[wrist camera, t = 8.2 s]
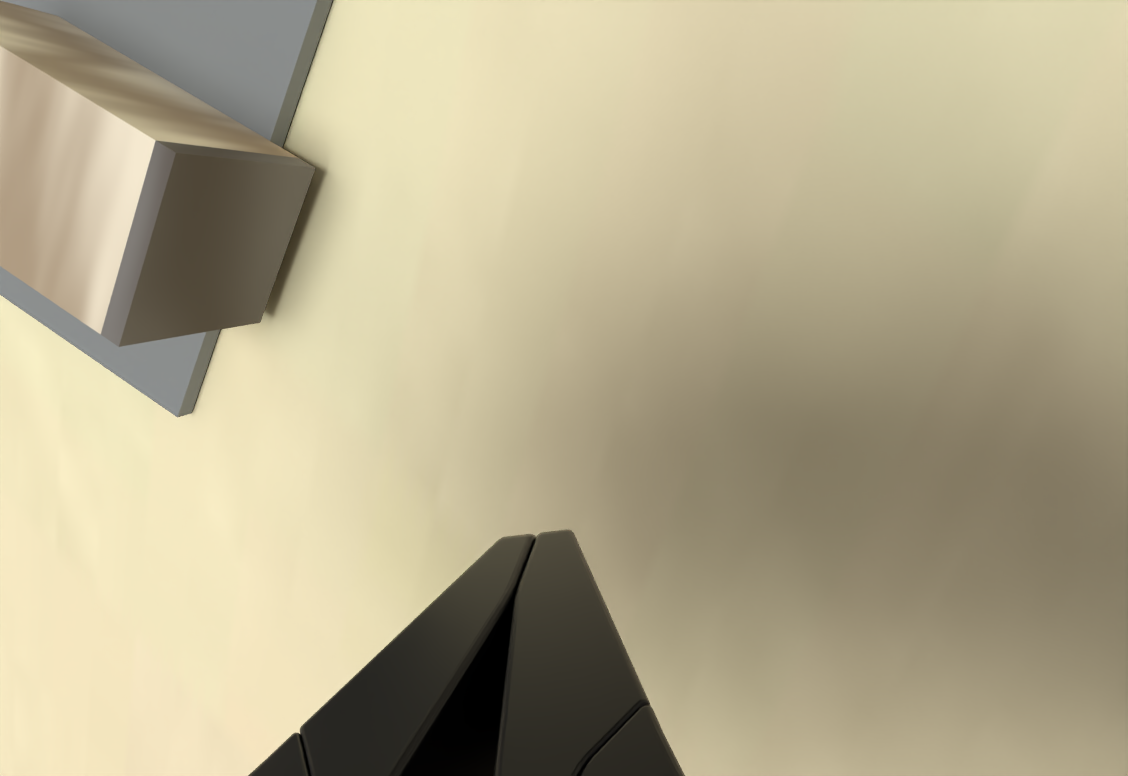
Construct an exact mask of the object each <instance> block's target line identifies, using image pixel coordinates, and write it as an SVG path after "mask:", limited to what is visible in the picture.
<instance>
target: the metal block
mask: <svg viewBox="0 0 1128 776" xmlns="http://www.w3.org/2000/svg"><path fill="white" fill-rule="evenodd" d="M315 169H316V168H315V167H313V166H312V165H310V164H308V163H307V162H305V161H303V160H302V159H300V158H298V157H296V156H295V155H293V154H291V153H290V152H288V151H286V150H285V149H283V148H281V147H279V146H278V145H276V144H274V143H273V142H271V141H269V140H268V139H266V138H264V137H262V136H261V135H259V134H257V133H256V132H254V131H252V130H251V129H249V128H247V127H245V126H244V125H242V124H240V123H239V122H237V121H235V120H234V119H232V118H230V117H228V116H227V115H225V114H223V113H222V112H220V111H218V110H217V109H215V108H213V107H211V106H210V105H208V104H206V103H205V102H203V101H201V100H200V99H198V98H196V97H195V96H193V95H191V94H189V93H188V92H186V91H184V90H183V89H181V88H179V87H178V86H176V85H174V84H172V83H171V82H169V81H167V80H166V79H164V78H162V77H161V76H159V75H157V74H155V73H154V72H152V71H150V70H149V69H147V68H145V67H144V66H142V65H140V64H138V63H137V62H135V61H133V60H132V59H130V58H128V57H127V56H125V55H123V54H121V53H120V52H118V51H116V50H115V49H113V48H111V47H110V46H108V45H106V44H104V43H103V42H101V41H99V40H98V39H96V38H94V37H93V36H91V35H89V34H88V33H86V32H84V31H82V30H81V29H79V28H77V27H76V26H74V25H72V24H71V23H69V22H67V21H65V20H64V19H62V18H60V17H59V16H56V15H53V14H49V13H45V12H41V11H38V10H34V9H30V8H27V7H23V6H19V5H15V4H12V3H8V2H4V1H0V266H1V267H2V268H4V269H5V270H7V271H8V272H10V273H11V274H13V275H14V276H16V277H17V278H18V279H20V280H21V281H23V282H24V283H26V284H27V285H29V286H30V287H32V288H33V289H35V290H36V291H38V292H39V293H40V294H42V295H43V296H45V297H46V298H48V299H49V300H51V301H52V302H54V303H55V304H57V305H58V306H60V307H61V308H62V309H64V310H65V311H67V312H68V313H70V314H71V315H73V316H74V317H76V318H77V319H79V320H80V321H81V322H83V323H84V324H86V325H87V326H89V327H90V328H92V329H93V330H95V331H96V332H98V333H99V334H101V335H102V336H103V337H105V338H106V339H108V340H109V341H111V342H112V343H114V344H115V345H117V346H118V347H121V346H127V345H133V344H139V343H144V342H150V341H156V340H162V339H167V338H173V337H179V336H185V335H191V334H196V333H202V332H208V331H214V330H220V329H225V328H231V327H237V326H243V325H248V324H254V323H260V322H261V319H262V316H263V313H264V310H265V308H266V305H267V302H268V299H269V297H270V294H271V291H272V288H273V285H274V283H275V280H276V277H277V274H278V271H279V269H280V266H281V263H282V260H283V258H284V255H285V252H286V249H287V246H288V244H289V241H290V238H291V235H292V233H293V230H294V227H295V224H296V221H297V219H298V216H299V213H300V210H301V208H302V205H303V202H304V199H305V196H306V194H307V191H308V188H309V185H310V183H311V180H312V177H313V174H314V171H315Z"/></svg>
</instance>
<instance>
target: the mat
mask: <svg viewBox="0 0 1128 776" xmlns="http://www.w3.org/2000/svg"><path fill="white" fill-rule="evenodd" d="M0 1H4V2H8V3H12V4H15V5H19V6H23V7H27V8H30V9H34V10H38V11H41V12H45V13H49V14H53V15H56V16H59V17H60V18H62V19H64V20H65V21H67V22H69V23H71V24H72V25H74V26H76V27H77V28H79V29H81V30H82V31H84V32H86V33H88V34H89V35H91V36H93V37H94V38H96V39H98V40H99V41H101V42H103V43H104V44H106V45H108V46H110V47H111V48H113V49H115V50H116V51H118V52H120V53H121V54H123V55H125V56H127V57H128V58H130V59H132V60H133V61H135V62H137V63H138V64H140V65H142V66H144V67H145V68H147V69H149V70H150V71H152V72H154V73H155V74H157V75H159V76H161V77H162V78H164V79H166V80H167V81H169V82H171V83H172V84H174V85H176V86H178V87H179V88H181V89H183V90H184V91H186V92H188V93H189V94H191V95H193V96H195V97H196V98H198V99H200V100H201V101H203V102H205V103H206V104H208V105H210V106H211V107H213V108H215V109H217V110H218V111H220V112H222V113H223V114H225V115H227V116H228V117H230V118H232V119H234V120H235V121H237V122H239V123H240V124H242V125H244V126H245V127H247V128H249V129H251V130H252V131H254V132H256V133H257V134H259V135H261V136H262V137H264V138H266V139H268V140H269V141H271V142H273V143H274V144H276V145H278V146H279V147H281V148H282V147H283V144H284V141H285V138H286V135H287V132H288V129H289V127H290V124H291V121H292V118H293V115H294V112H295V109H296V106H297V103H298V100H299V97H300V94H301V91H302V88H303V86H304V83H305V80H306V77H307V74H308V71H309V68H310V65H311V62H312V59H313V56H314V53H315V50H316V47H317V45H318V42H319V39H320V36H321V33H322V30H323V27H324V24H325V21H326V18H327V15H328V12H329V9H330V6H331V4H332V1H333V0H0ZM0 295H1V296H3V297H4V298H6V299H7V300H9V301H10V302H11V303H13V304H14V305H16V306H17V307H19V308H20V309H22V310H23V311H24V312H26V313H27V314H29V315H30V316H32V317H33V318H35V319H36V320H38V321H39V322H40V323H42V324H43V325H45V326H46V327H48V328H49V329H51V330H52V331H53V332H55V333H56V334H58V335H59V336H61V337H62V338H64V339H65V340H66V341H68V342H69V343H71V344H72V345H74V346H75V347H77V348H78V349H79V350H81V351H82V352H84V353H85V354H87V355H88V356H90V357H91V358H92V359H94V360H95V361H97V362H98V363H100V364H101V365H103V366H104V367H105V368H107V369H108V370H110V371H111V372H113V373H114V374H116V375H117V376H119V377H120V378H121V379H123V380H124V381H126V382H127V383H129V384H130V385H132V386H133V387H134V388H136V389H137V390H139V391H140V392H142V393H143V394H145V395H146V396H147V397H149V398H150V399H152V400H153V401H155V402H156V403H158V404H159V405H160V406H162V407H163V408H165V409H166V410H168V411H169V412H171V413H172V414H173V415H175V416H176V417H180V416H184V415H187V414H190V413H192V411H193V408H194V405H195V402H196V399H197V396H198V393H199V390H200V387H201V384H202V381H203V378H204V375H205V373H206V370H207V367H208V364H209V361H210V358H211V355H212V352H213V349H214V346H215V343H216V340H217V337H218V334H219V332H220V330H214V331H208V332H202V333H196V334H191V335H185V336H179V337H173V338H167V339H162V340H156V341H150V342H144V343H139V344H133V345H127V346H121V347H118V346H117V345H115V344H114V343H112V342H111V341H109V340H108V339H106V338H105V337H103V336H102V335H101V334H99V333H98V332H96V331H95V330H93V329H92V328H90V327H89V326H87V325H86V324H84V323H83V322H81V321H80V320H79V319H77V318H76V317H74V316H73V315H71V314H70V313H68V312H67V311H65V310H64V309H62V308H61V307H60V306H58V305H57V304H55V303H54V302H52V301H51V300H49V299H48V298H46V297H45V296H43V295H42V294H40V293H39V292H38V291H36V290H35V289H33V288H32V287H30V286H29V285H27V284H26V283H24V282H23V281H21V280H20V279H18V278H17V277H16V276H14V275H13V274H11V273H10V272H8V271H7V270H5V269H4V268H2V267H1V266H0Z"/></svg>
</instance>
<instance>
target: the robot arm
mask: <svg viewBox="0 0 1128 776" xmlns="http://www.w3.org/2000/svg"><path fill="white" fill-rule="evenodd" d="M300 734H301V735H300ZM300 734H299V733H294V734H292V735H291V736H290V737H289V738H288V739H287V740H286V741H285V742H284V743H283V744H282V745H281V746H280V747H279V748H278V749H277V750H275V751H274V752H273V753H272V754H271V755H270V756H269V757H268V758H267V759H266V760H265V761H264V762H263V763H262V764H260V765H259V766H258V767H257V768H256V769H255V770H254V771H253V772H252V773H251V774H249V775H248V776H685V775H684V773H683V771H682V769H681V767H680V765H679V763H678V761H677V759H676V757H675V755H674V753H673V751H672V749H671V747H670V745H669V743H668V741H667V739H666V737H665V735H664V733H663V731H662V729H661V727H660V724H659V722H658V720H657V717H656V715H655V713H654V711H653V709H652V707H650V703H649V700H648V698H647V696H646V694H645V692H644V689H643V687H642V685H641V683H640V680H639V678H638V676H637V674H636V671H635V669H634V667H633V665H632V662H631V660H630V658H629V656H628V653H627V651H626V649H625V647H624V645H623V642H622V640H621V638H620V636H619V633H618V631H617V629H616V627H615V624H614V622H613V620H612V618H611V615H610V613H609V611H608V609H607V606H606V604H605V602H604V600H603V598H602V595H601V593H600V591H599V589H598V586H597V584H596V582H595V580H594V577H593V575H592V573H591V571H590V568H589V566H588V564H587V562H586V559H585V557H584V555H583V553H582V551H581V548H580V546H579V544H578V542H577V539H576V537H575V535H574V533H573V532H572V531H571V530H559V531H551V532H543V533H540V534H539V535H538V536H537V537H536V536H535V535H533V534H526V535H517V536H508V537H503V538H501V539H499V540H498V541H497V542H496V543H495V544H494V545H493V546H492V547H491V548H490V549H488V550H487V551H486V552H485V553H484V554H483V555H482V556H481V557H480V558H479V559H478V560H477V561H476V562H475V563H474V564H473V565H472V566H470V567H469V568H468V569H467V570H466V571H465V572H464V573H463V574H462V575H461V576H460V577H459V578H458V579H457V580H456V581H455V582H454V583H452V584H451V585H450V586H449V587H448V588H447V589H446V590H445V591H444V592H443V593H442V594H441V595H440V596H439V597H438V598H437V599H436V600H435V601H433V602H432V603H431V604H430V605H429V606H428V607H427V608H426V609H425V610H424V611H423V612H422V613H421V614H420V615H419V616H418V617H417V618H415V619H414V620H413V621H412V622H411V623H410V624H409V625H408V626H407V627H406V628H405V629H404V630H403V631H402V632H401V633H400V634H399V635H397V636H396V637H395V638H394V639H393V640H392V641H391V642H390V643H389V644H388V645H387V646H386V647H385V648H384V649H383V650H382V651H381V652H380V653H378V654H377V655H376V656H375V657H374V658H373V659H372V660H371V661H370V662H369V663H368V664H367V665H366V666H365V667H364V668H363V669H362V670H360V671H359V672H358V673H357V674H356V675H355V676H354V677H353V678H352V679H351V680H350V681H349V682H348V683H347V684H346V685H345V686H344V687H342V688H341V689H340V690H339V691H338V692H337V693H336V694H335V695H334V696H333V697H332V698H331V699H330V700H329V701H328V702H327V703H326V704H324V705H323V706H322V707H321V708H320V709H319V710H318V711H317V712H316V713H315V714H314V715H313V716H312V717H311V718H310V719H309V720H307V721H306V722H305V723H304V724H303V725H302V726H301V728H300Z"/></svg>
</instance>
